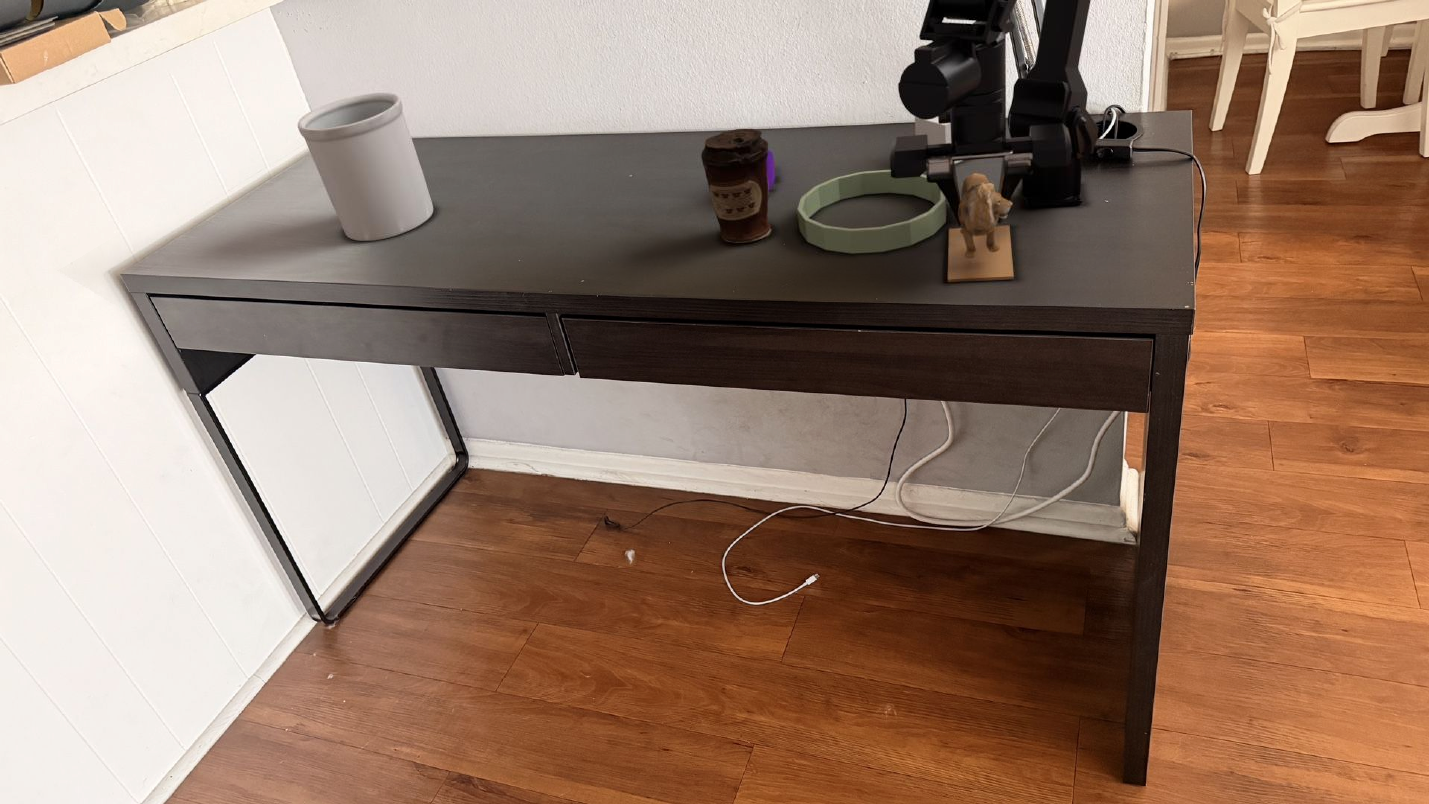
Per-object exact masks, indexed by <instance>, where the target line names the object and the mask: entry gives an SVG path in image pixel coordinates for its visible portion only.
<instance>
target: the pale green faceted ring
mask: <svg viewBox="0 0 1429 804" xmlns="http://www.w3.org/2000/svg"><path fill="white" fill-rule="evenodd" d="M926 177H927V174H924V173H923V174H922V175H921V176H920V177H911V178H897V179H896V178H893V177H891V170H890V169H881V170H867V171H860V172H855V173H854V172H853V173H851V174H846V175H841V176H838V177H834V178H831V179H830V180H827V181H824V182H822V183H819V184H817V185H815V186H814V187H812V188H811V189H810V190H809V191H808V192H806V193H805V194H803V195H802V196H801V197H800V200H799V203H798V206H797V209H796V211H797V218H798V228H799V232H800V233H801V234H802V236H803V237H804V239H805V241H806V242H807V243H809V244H812V245H814V246H815V247H818V248H820V249H823V250H824V251H832V252H839V253H847V254H868V253H869V254H870V253H883V252H887V251H892V250H893V251H894V250H897V249H902V248H905V247H910V246H913V245H915V244H917V243H919V242H921V241H923V240H926V239H928V238H930V237H932V236H934V235H935V234H936V233H937V232H938V231H939V230H940V229H941V228H942V227H943V226H944V225H945V224H946V223H947V199H946V198H945V196H944V195H943V193H942V191H941V190H940V188H939V187H938V185H937V184H936V183H928V182H927V178H926ZM886 193H887V194H890V193H891V194H902V195H910V196H916V197H919V198H921V199H925V200H927V201H930V202H932V203H933V204H934V205H933V206H932V207H931V208H930V209H929V210H928V211H926V212H924V213H922V214H919V215H918V216H915V217H913V218H911V219H909V220H905V221H900V222H897V223H893V224H888V225H884V226H875V227H860V228H859V227H857V228H847V227H840V226H831V225H826V224H823V223H821V222H819V221H816V220H814V219H811V217H812V216H813V215H814V214H815V213H817V212H818V211H819V210H820V209H822V208H825V207H827V206H829V205H831V204H834V203H836V202H838V201H841V200H845V199H849V198H850V199H851V198H854V197H859V196H863V195H873V194H886Z"/></svg>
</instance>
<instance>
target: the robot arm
mask: <svg viewBox="0 0 1429 804" xmlns="http://www.w3.org/2000/svg"><path fill="white" fill-rule="evenodd" d="M1017 1H1018V0H929V2H928V6H927V9H926V12H925V15H924V19H923V22H922V25H921V29H920V32H919V35H918V38H919V41H928V42H929V41H930V42H929V43H928V44H926V45H925V44H924V45H923V44H922V45H920V46H918V47H916V48H914V50H913V57H914V58H913V59H914V61H913V62H912V63H910V64H908V65H907V66H906V67H905V69H903V71H902V73H901V75H900V79H899V82H898V83H897V90H898V96H899V99H900V101H901V103H902V105H903V107H904V109H906V111H908V113H909V114H911V115H912V116H913V117H914V118H915V117H917V118H920V119H923V120H929V119H933V118H936V117H938V122H939V124H944V123H951V143H946V144H934V145H928V137H927V134H926V135H916V134H914V135H904V136H895V138H894V139H893V141H892V143H891V146H890V154H889V168H890V169H889V170H891V177H893V178H896V179H897V178H911V177H920V176H921V175H922V174H923V175H924V173H925V172H926V176H927V177H926V178H927V182H928V183H936V184H937V185H938V187H939V188H940V190H941V191H942V193H943V195H944V196H945V198H946V202H947V203H948V205H949V207H950V210H951V212H952V214H953V216H954V218H955V221H956V222H957V225H958V227H962V226H961V222H960V221H959V216H958V208H959V204H960V202H961V200H962V199H961V194H960V189H959V183H958V177H957V169H956V164H955V161H961V160H963V161H973V160H974V161H975V160H986V159H987V160H988V159H998V158H999V159H1001V168H1000V177H999V184H998V191H997V193H999V194H1001V196H1002V198H1004V199H1006V200H1008V201H1010V202H1011V200H1012V199H1011V198H1012V197H1013V194H1014V193H1015V191H1016V190H1017V188H1018V186H1019V185H1020V191H1021V197H1022V198H1025V204H1026V207H1028V208H1037V207H1054V206H1055V207H1056V206H1068V205H1070V206H1071V205H1081V204H1083V195H1082V194H1083V193H1082V190H1081V188H1082V171H1083V170H1082V168H1083V167H1082V166H1083V156H1088V155H1089V156H1090V155H1092V154H1094V151H1095V146H1096V144H1097V141H1098V138H1099V137H1098V134H1099V126H1098V125H1097V123H1096V122H1095V120H1094V119H1093V117H1092V116H1091V115H1090V113H1089V111H1088V110H1087V103H1088V94H1089V93H1088V90H1087V87H1086V85H1085V82H1084V80H1083V76H1082V74H1081V72H1080V69H1079V66H1080V60H1081V59H1080V58H1081V55H1082V47H1083V43H1084V38H1085V33H1086V27H1087V21H1088V16H1089V11H1090V5H1091V1H1092V0H1045V4H1044V9H1043V14H1042V22H1041V27H1040V32H1039V39H1038V45H1037V51H1036V55H1035V61H1034V64H1033V66H1032V67H1031V68H1030V69H1029V70H1028V72H1027V73H1026V74H1025V76H1024V77H1018V78H1017V79H1016V81H1015V82H1014V84H1013V90H1012V100H1011V104H1010V107H1009V109H1008V112H1007V110H1006V109H1007V84H1006V83H1007V78H1006V77H1007V76H1006V75H1007V69H1006V68H1007V61H1006V60H1007V53H1006V52H1007V49H1006V48H1007V45H1006V41H1007V38H1006V37H1007V36H1006V35H1007V34H1009V33H1010V32H1012V31H1014V30H1015V28H1016V27H1015V26H1016V25H1015V23H1014V22H1013V20H1012V19H1010V16H1011V14H1012V12H1013V9H1014V8H1015V6H1016V4H1017ZM945 19H946V20H951V21H952V20H953V21H973V22H972V23H966V22H965V23H964V22H946V21H945V22H944V20H945ZM1007 113H1008V114H1007ZM1007 128H1008V132H1009V138H1007ZM961 162H962V161H961ZM1020 183H1021V184H1020ZM1002 221H1003V219H1002V218H1000V217H998V223H997V225H999V224H1001V223H1002Z"/></svg>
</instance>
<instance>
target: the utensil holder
mask: <svg viewBox="0 0 1429 804" xmlns="http://www.w3.org/2000/svg"><path fill="white" fill-rule="evenodd" d="M403 110H404V109H403V102H402V100H401V98H400V96H399V95H397V94H395V93H391V92H376V93H375V92H373V93H367V94H366V93H365V94H359V95H355V96H350V97H346V98H343V99H339V100H335V101H333V102H330V103H327V104H324V105H322V106H320V107H317V108H315V109H313V110H311V111H309V112H307V113H306V114H304V115H303V116H301V118H300V119H299V120H298V122H297V128H298V129H297V130H298V132H299V133H300V135H301V136H302V137H303V139H304V141H305V143H306V146H307V148H308V151H309V153H310V156H311V157H312V158H311V159H312V161H313V162H314V165H315V167H316V169H317V171H318V174H319V177H320V179H321V181H322V183H323V186H324V188H325V191H326V193H327V195H328V198H329V201H330V203H331V205H332V207H333V209H334V211H335V213H336V216H337V218H338V221H339V223H340V225H341V227H342V231H343V232H344V234H345V235H346V237H347V238H349V239H351V240H353V241H357V242H359V241H360V242H371V241H380V240H386V239H389V238H393V237H396V236H399V235H401V234H404V233H406V232H409V231H411V230H414V229H415V228H417V227H419V226H422V224H424V223H426V222H427V220H429V219H430V218H431V217H432V215H433V213H434V206H433V201H432V199H431V196H430V191H429V189H428V186H427V182H426V179H425V175H424V172H423V170H422V169H423V168H422V166H421V164H420V160H419V157H418V154H417V151H416V147H415V145H414V141H413V139H412V136H411V133H410V129H409V127H408V124H407V121H406V118H405V115H404V112H403Z"/></svg>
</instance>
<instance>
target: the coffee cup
mask: <svg viewBox="0 0 1429 804" xmlns="http://www.w3.org/2000/svg"><path fill="white" fill-rule="evenodd" d="M762 134H763V132H762V131H761V130H757V129H754V128H736V129H732V130H728V131H722V132H720V133H719V134H717V135H712V136H710V137H708V138H706V139H705V140H704V148H703V149H702V151H701V154H700V155H701V156H700V159H701V161H702V166H703V168H704V172H705V178H706V181H707V185H708V186H707V187H708V191H709V194H710V198H711V202H712V207H713V211H714V213H715V217H716V220H717V223H718V226H719V229H720V230H719V231H720V236H721V238H722V239H723V240H724V241H725V242H728V243H734V244H744V243H750V242H754V241H758V240H761V239H763V238H765V237H768V236H770V235H771V232H772V228H771V225H770V223H769V219H768V217H769V216H768V211H769V197H770V192H769V191H770V190H769V183H768V176H767V157H768V150H769V142H768V141H767V140H766V139H764V138H762Z"/></svg>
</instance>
